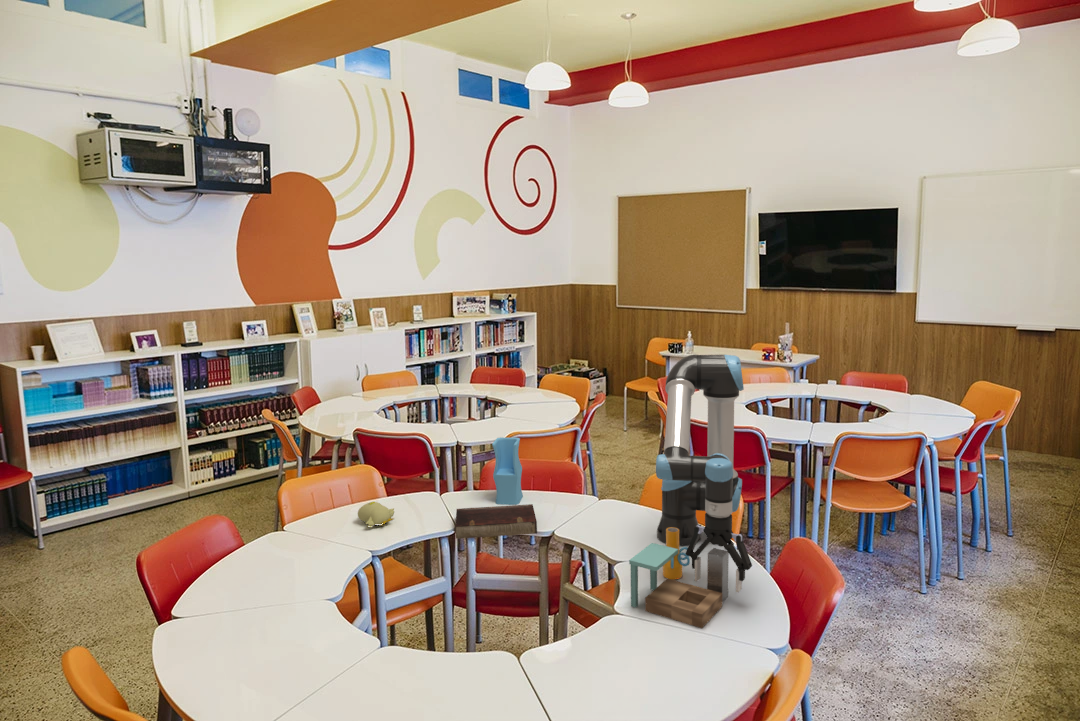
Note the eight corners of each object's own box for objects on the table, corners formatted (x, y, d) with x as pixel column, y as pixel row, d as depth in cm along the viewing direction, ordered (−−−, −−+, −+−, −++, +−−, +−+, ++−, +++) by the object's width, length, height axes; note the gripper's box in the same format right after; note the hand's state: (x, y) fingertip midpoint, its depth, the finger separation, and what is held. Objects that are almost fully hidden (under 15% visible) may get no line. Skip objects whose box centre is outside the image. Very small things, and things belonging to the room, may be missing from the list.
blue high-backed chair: (494, 504, 290) (491, 443, 286) (499, 495, 300) (497, 437, 296) (518, 504, 289) (516, 444, 285) (523, 496, 298) (521, 437, 294)
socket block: (667, 591, 214) (667, 578, 214) (722, 606, 205) (722, 593, 204) (645, 611, 203) (645, 597, 203) (702, 628, 193) (702, 614, 193)
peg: (713, 592, 213) (713, 547, 210) (728, 596, 210) (728, 551, 208) (707, 599, 209) (707, 553, 207) (722, 603, 206) (722, 557, 204)
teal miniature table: (652, 586, 217) (652, 542, 215) (678, 594, 212) (678, 549, 210) (629, 606, 206) (629, 560, 204) (656, 614, 201) (656, 567, 199)
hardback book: (532, 515, 278) (532, 502, 278) (537, 534, 260) (536, 521, 259) (457, 520, 276) (456, 507, 275) (456, 539, 257) (455, 526, 257)
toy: (373, 517, 262) (345, 503, 270) (373, 538, 265) (345, 523, 273) (402, 502, 274) (374, 489, 282) (401, 522, 277) (374, 509, 284)
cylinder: (689, 585, 217) (690, 538, 215) (654, 583, 219) (654, 536, 217) (689, 568, 229) (690, 523, 227) (656, 566, 231) (656, 521, 229)
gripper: (674, 509, 209) (673, 579, 213) (755, 526, 195) (754, 601, 199) (684, 501, 215) (684, 570, 219) (764, 517, 201) (763, 590, 205)
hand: (717, 584), depth 209 cm, fingers open, 12 cm apart
